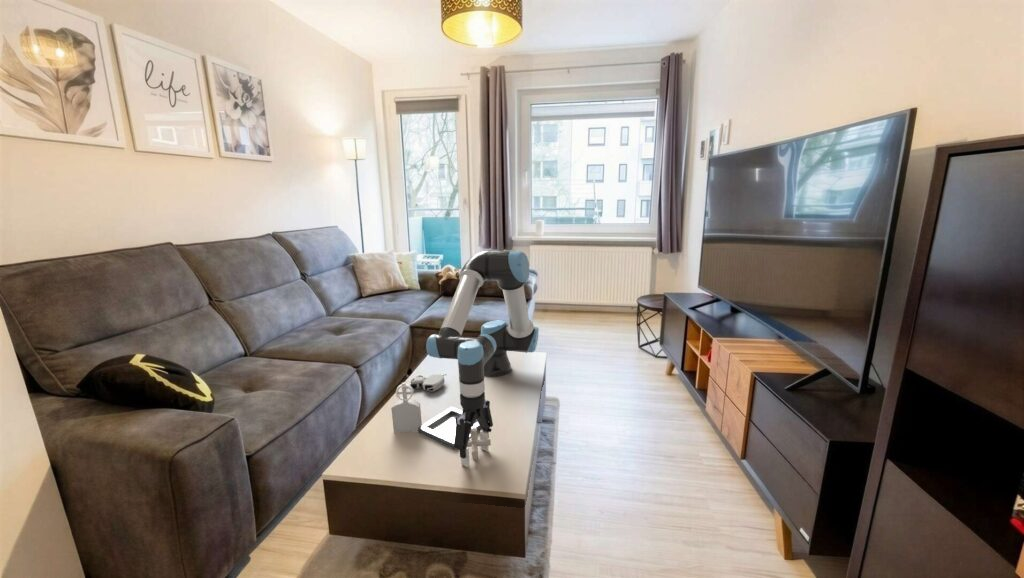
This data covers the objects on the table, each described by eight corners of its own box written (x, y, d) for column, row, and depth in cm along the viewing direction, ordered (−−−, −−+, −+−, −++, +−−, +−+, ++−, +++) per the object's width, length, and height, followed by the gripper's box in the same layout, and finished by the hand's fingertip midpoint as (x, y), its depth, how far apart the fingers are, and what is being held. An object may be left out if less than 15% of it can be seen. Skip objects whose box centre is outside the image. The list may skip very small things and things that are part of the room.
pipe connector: (459, 449, 133) (458, 421, 130) (490, 446, 134) (489, 419, 131) (458, 469, 123) (457, 440, 121) (491, 467, 124) (490, 438, 122)
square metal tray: (451, 411, 156) (451, 406, 155) (486, 424, 146) (486, 419, 146) (418, 432, 142) (417, 427, 142) (454, 449, 133) (453, 444, 132)
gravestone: (395, 427, 146) (391, 381, 141) (421, 426, 146) (418, 380, 142) (393, 432, 143) (389, 385, 139) (420, 431, 143) (416, 384, 139)
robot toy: (405, 394, 171) (438, 395, 168) (403, 384, 170) (436, 385, 167) (417, 381, 183) (448, 382, 179) (416, 372, 182) (447, 372, 178)
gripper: (484, 375, 134) (487, 436, 139) (438, 403, 117) (442, 471, 122) (503, 381, 129) (504, 443, 135) (457, 411, 112) (461, 481, 118)
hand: (475, 457), depth 128 cm, fingers closed on pipe connector, 9 cm apart
